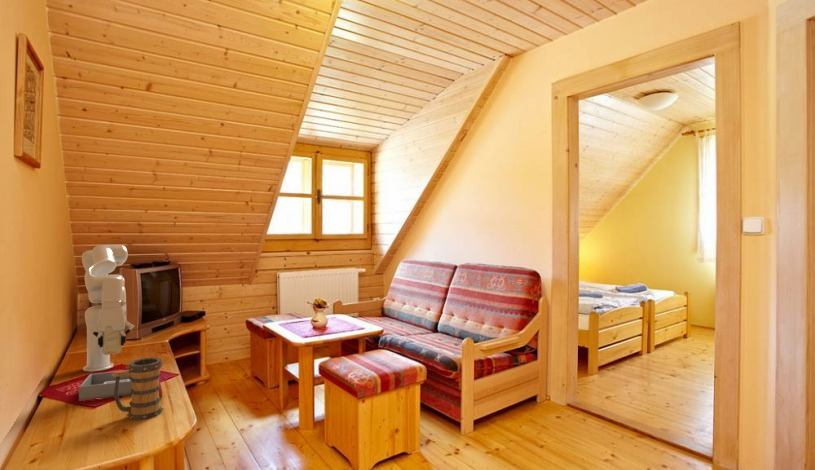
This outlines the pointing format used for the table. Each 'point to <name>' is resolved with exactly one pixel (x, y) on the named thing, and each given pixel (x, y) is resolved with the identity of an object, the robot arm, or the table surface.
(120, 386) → the walled box
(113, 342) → the skincare box
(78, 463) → the table surface
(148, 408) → the mug
